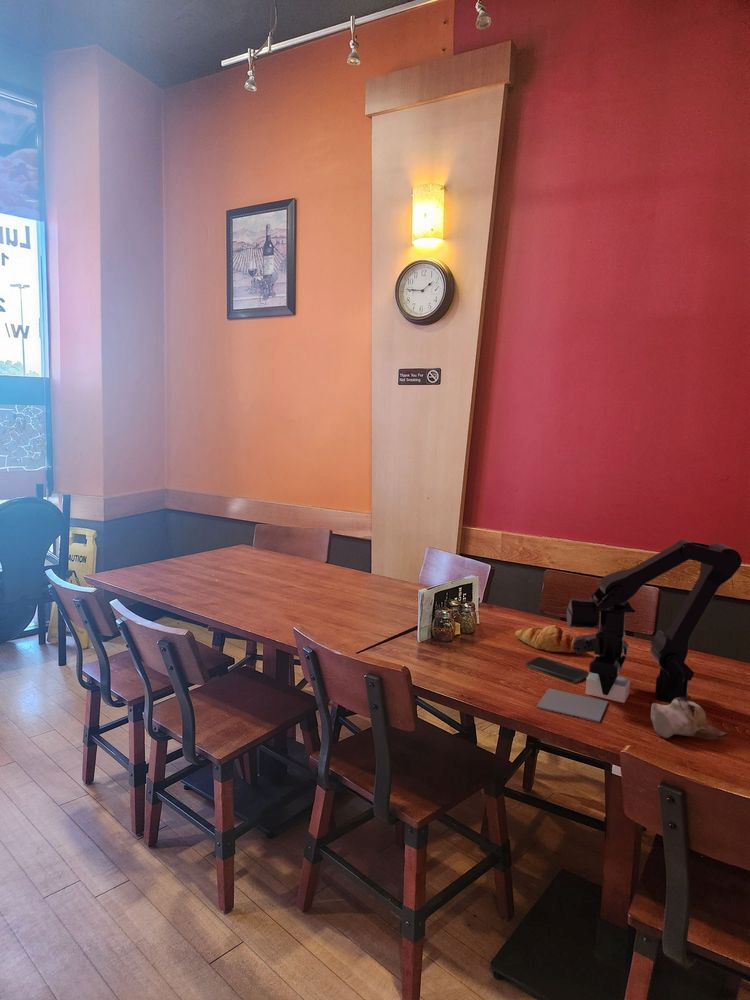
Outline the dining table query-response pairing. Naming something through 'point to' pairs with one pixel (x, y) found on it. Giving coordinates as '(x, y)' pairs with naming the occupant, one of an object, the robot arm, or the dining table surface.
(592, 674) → the card box
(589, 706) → the mat
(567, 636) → the croissant
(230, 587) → the dining table surface
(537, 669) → the phone
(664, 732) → the ceramic sculpture
